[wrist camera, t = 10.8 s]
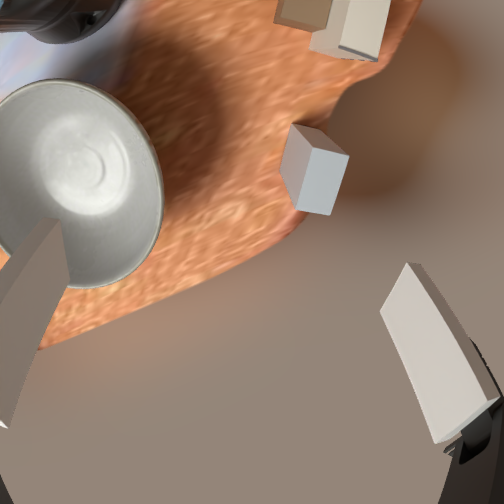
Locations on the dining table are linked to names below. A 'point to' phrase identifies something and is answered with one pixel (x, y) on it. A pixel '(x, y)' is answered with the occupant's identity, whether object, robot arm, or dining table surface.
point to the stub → (312, 169)
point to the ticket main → (338, 25)
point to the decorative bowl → (79, 178)
